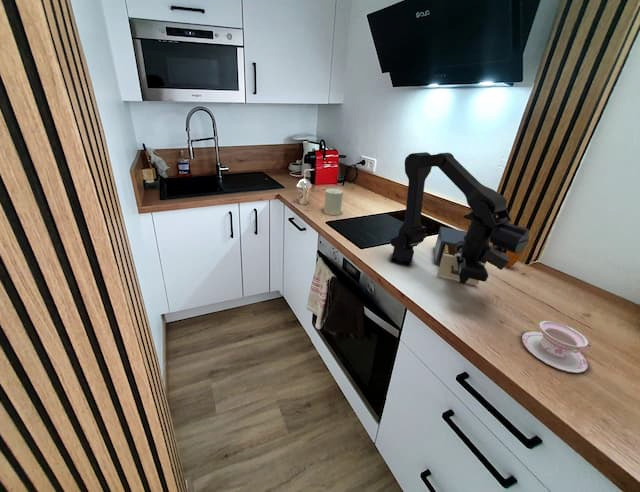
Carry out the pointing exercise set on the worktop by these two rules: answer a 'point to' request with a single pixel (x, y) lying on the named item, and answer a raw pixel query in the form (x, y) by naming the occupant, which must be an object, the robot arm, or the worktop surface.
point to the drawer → (451, 264)
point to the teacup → (558, 346)
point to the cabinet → (447, 240)
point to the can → (333, 201)
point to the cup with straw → (304, 189)
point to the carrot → (513, 257)
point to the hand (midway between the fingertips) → (461, 283)
